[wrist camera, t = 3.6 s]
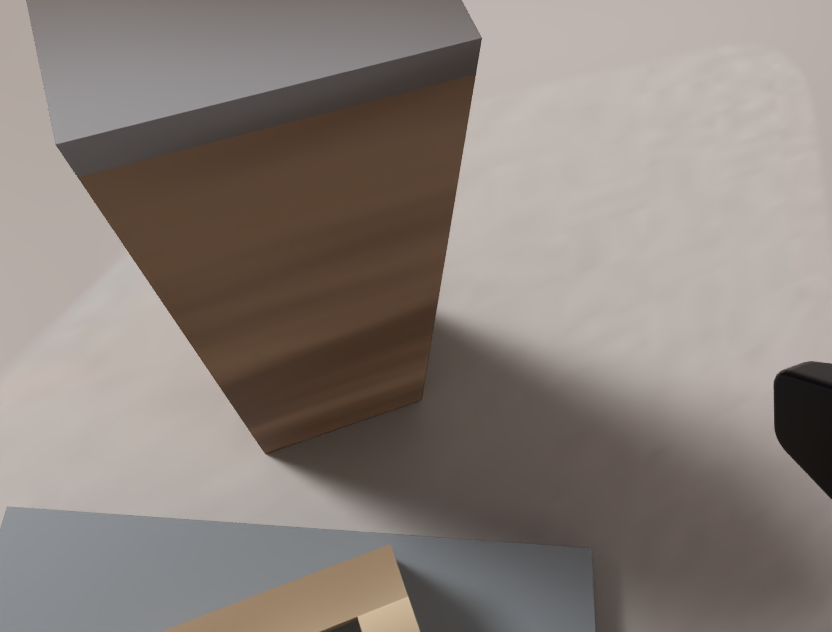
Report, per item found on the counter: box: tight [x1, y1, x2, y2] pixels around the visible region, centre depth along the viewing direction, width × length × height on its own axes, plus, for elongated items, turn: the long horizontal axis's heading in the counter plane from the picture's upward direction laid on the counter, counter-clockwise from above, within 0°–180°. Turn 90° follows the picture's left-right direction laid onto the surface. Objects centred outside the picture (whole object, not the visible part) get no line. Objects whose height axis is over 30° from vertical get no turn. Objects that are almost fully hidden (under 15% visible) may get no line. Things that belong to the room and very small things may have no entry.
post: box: [26, 0, 482, 454], centre depth 15 cm, size 4×5×15 cm
